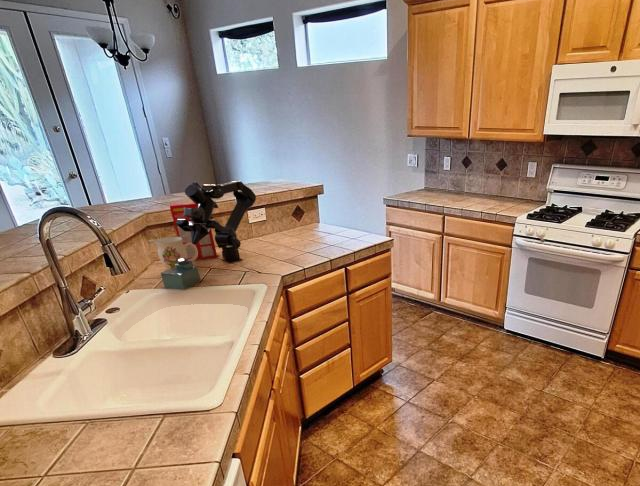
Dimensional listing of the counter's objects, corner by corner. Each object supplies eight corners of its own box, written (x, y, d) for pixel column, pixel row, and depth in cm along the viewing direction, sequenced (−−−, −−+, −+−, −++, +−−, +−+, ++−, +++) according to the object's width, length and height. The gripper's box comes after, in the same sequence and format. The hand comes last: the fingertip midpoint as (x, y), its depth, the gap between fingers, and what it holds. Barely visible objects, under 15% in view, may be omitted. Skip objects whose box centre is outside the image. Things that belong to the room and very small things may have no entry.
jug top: (184, 278, 178) (179, 259, 174) (203, 280, 176) (198, 261, 172) (164, 288, 168) (159, 268, 164) (184, 289, 166) (179, 270, 162)
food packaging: (216, 254, 210) (204, 201, 198) (217, 256, 206) (205, 202, 194) (183, 258, 204) (169, 204, 193) (183, 261, 200) (169, 206, 189)
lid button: (183, 262, 172) (182, 258, 171) (190, 262, 171) (189, 258, 171) (177, 265, 169) (175, 260, 168) (184, 265, 168) (183, 261, 168)
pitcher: (201, 269, 188) (193, 238, 181) (155, 275, 182) (146, 243, 175) (201, 263, 197) (194, 233, 190) (158, 268, 191) (149, 237, 184)
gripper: (172, 198, 173) (160, 232, 169) (212, 199, 169) (200, 234, 165) (190, 214, 184) (179, 246, 179) (228, 216, 179) (217, 249, 175)
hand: (193, 244), depth 174 cm, fingers closed
